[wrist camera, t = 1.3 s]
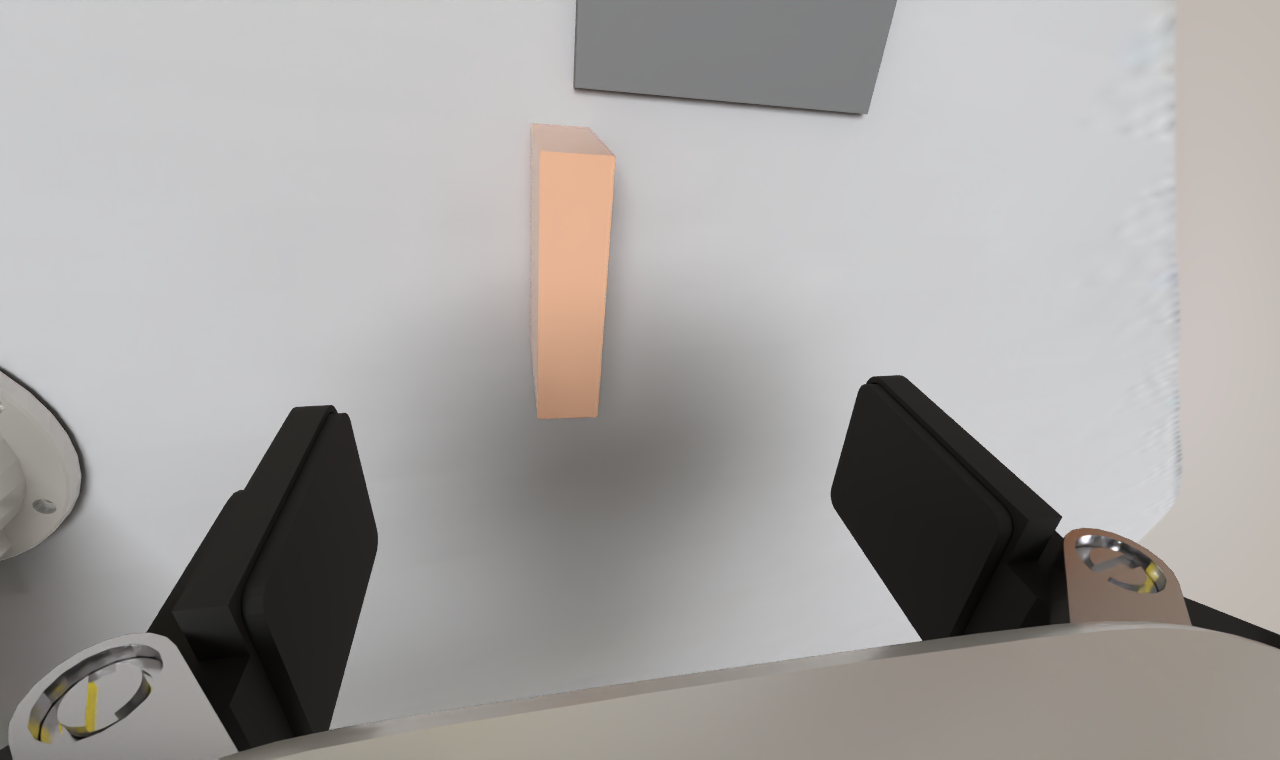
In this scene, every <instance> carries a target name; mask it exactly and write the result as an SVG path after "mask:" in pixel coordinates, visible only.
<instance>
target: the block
mask: <svg viewBox="0 0 1280 760" xmlns="http://www.w3.org/2000/svg"><path fill="white" fill-rule="evenodd" d="M615 157H616V156H615V155H614V154H613V153H612V152H611V151H610V150H609V149H608V148H607V146H606V145H605V144H604V143H603V142H602V141H601V140H600V139H599V138H598V137H597V136H596V135H595V134H594V133H593V132H592V131H591V130H590V128H587V127H574V126H561V125H548V124H535V123H531V277H530V343H531V354H532V365H533V376H534V387H535V398H536V409H537V419H552V418H583V417H598V404H599V390H600V375H601V361H602V346H603V332H604V317H605V302H606V288H607V273H608V259H609V244H610V230H611V215H612V200H613V186H614V171H615Z"/></svg>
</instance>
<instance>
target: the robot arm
mask: <svg viewBox="0 0 1280 760" xmlns="http://www.w3.org/2000/svg"><path fill="white" fill-rule="evenodd" d="M80 484H81V471H80V466H79V460H78V455H77V453H76V451H75V449H74V447H73V445H72V443H71V440H70V438H69V436H68V434H67V433H66V432H65V430H64V429H63V428H62V426H61V425H60V424H59V422H58V421H57V420H56V418H55V417H54V416H53V414H52V413H51V412H50V411H49V410H48V409H47V408H46V407H45V406H44V405H43V404H42V403H40V402H39V401H38V400H37V399H36V398H35V397H34V396H33V395H32V394H31V393H30V392H29V391H27V390H26V389H25V388H23V387H22V386H20V385H19V384H18V383H16V382H15V381H13V380H12V379H11V378H9V377H8V376H6V375H5V374H3V373H2V372H1V371H0V561H2V560H5V559H8V558H12V557H15V556H18V555H20V554H22V553H24V552H25V551H27V550H29V549H31V548H33V547H35V546H37V545H39V544H40V543H41V542H42V541H43V540H45V539H46V538H47V537H48V536H49V535H51V534H52V533H53V532H54V531H55V530H56V529H57V528H58V526H59V525H60V524H61V523H62V522H63V521H64V520H65V518H66V517H67V516H68V515H69V514H70V513H71V511H72V509H73V507H74V505H75V503H76V501H77V498H78V496H79V492H80ZM831 501H832V504H833V507H834V509H835V510H836V512H837V513H838V515H839V516H840V518H841V519H842V521H843V522H844V524H845V525H846V527H847V528H848V530H849V531H850V533H851V534H852V536H853V537H854V539H855V540H856V542H857V543H858V545H859V546H860V548H861V549H862V551H863V552H864V554H865V555H866V557H867V558H868V560H869V561H870V563H871V564H872V566H873V567H874V569H875V570H876V572H877V573H878V575H879V576H880V578H881V579H882V581H883V582H884V584H885V585H886V587H887V588H888V590H889V591H890V593H891V594H892V596H893V597H894V599H895V600H896V602H897V603H898V605H899V606H900V608H901V609H902V611H903V612H904V614H905V615H906V617H907V618H908V620H909V621H910V623H911V624H912V626H913V627H914V629H915V630H916V632H917V633H918V635H919V636H920V638H921V639H922V641H919V642H912V643H905V644H897V645H890V646H883V647H876V648H868V649H861V650H854V651H846V652H839V653H832V654H825V655H818V656H811V657H804V658H797V659H790V660H783V661H776V662H769V663H762V664H755V665H748V666H741V667H734V668H727V669H720V670H713V671H706V672H699V673H692V674H685V675H678V676H671V677H664V678H657V679H651V680H644V681H637V682H630V683H623V684H617V685H610V686H603V687H597V688H590V689H583V690H576V691H570V692H563V693H556V694H550V695H543V696H536V697H529V698H523V699H516V700H509V701H503V702H496V703H489V704H483V705H476V706H469V707H463V708H457V709H451V710H445V711H439V712H433V713H427V714H421V715H415V716H409V717H403V718H397V719H390V720H384V721H378V722H372V723H366V724H360V725H354V726H348V727H343V728H338V729H333V730H329V727H330V723H331V720H332V716H333V712H334V709H335V705H336V701H337V697H338V694H339V690H340V686H341V682H342V679H343V675H344V671H345V668H346V664H347V660H348V656H349V653H350V649H351V645H352V642H353V638H354V634H355V630H356V627H357V623H358V619H359V616H360V612H361V608H362V604H363V601H364V597H365V593H366V590H367V586H368V582H369V578H370V575H371V571H372V567H373V564H374V560H375V556H376V552H377V546H378V534H377V528H376V524H375V520H374V516H373V512H372V507H371V503H370V499H369V495H368V491H367V487H366V483H365V479H364V475H363V471H362V466H361V462H360V458H359V454H358V450H357V446H356V442H355V438H354V434H353V429H352V425H351V421H350V418H349V416H348V414H346V413H337V410H336V409H335V407H334V406H332V405H324V406H305V407H295V408H293V409H292V410H291V412H290V413H289V415H288V417H287V418H286V420H285V422H284V423H283V425H282V427H281V428H280V430H279V432H278V433H277V435H276V437H275V438H274V440H273V442H272V443H271V445H270V447H269V449H268V450H267V452H266V454H265V455H264V457H263V459H262V460H261V462H260V464H259V465H258V467H257V469H256V470H255V472H254V474H253V475H252V477H251V479H250V480H249V482H248V484H247V486H246V487H245V489H244V490H239V491H237V492H235V493H234V494H233V495H232V496H231V497H230V498H229V500H228V501H227V503H226V504H225V506H224V507H223V509H222V511H221V512H220V514H219V516H218V517H217V519H216V520H215V522H214V524H213V525H212V527H211V529H210V530H209V532H208V533H207V535H206V537H205V538H204V540H203V542H202V543H201V545H200V546H199V548H198V550H197V551H196V553H195V555H194V556H193V558H192V559H191V561H190V563H189V564H188V566H187V568H186V569H185V571H184V572H183V574H182V576H181V577H180V579H179V581H178V582H177V584H176V585H175V587H174V589H173V590H172V592H171V593H170V595H169V597H168V598H167V600H166V602H165V603H164V605H163V606H162V608H161V610H160V611H159V613H158V615H157V616H156V618H155V619H154V621H153V623H152V624H151V626H150V628H149V629H148V631H147V632H146V633H135V634H127V635H123V636H119V637H116V638H112V639H108V640H105V641H103V642H100V643H98V644H96V645H94V646H91V647H89V648H87V649H85V650H82V651H80V652H79V653H77V654H76V655H74V656H72V657H71V658H69V659H68V660H66V661H64V662H63V663H61V664H59V665H58V666H56V667H55V668H54V669H53V670H52V671H50V672H49V673H48V674H47V675H46V676H45V677H43V678H42V679H41V680H40V681H39V682H37V683H36V684H35V685H34V686H33V688H32V689H31V690H30V691H29V692H28V694H27V695H26V696H25V697H24V698H23V700H22V701H21V702H20V703H19V704H18V706H17V708H16V710H15V713H14V715H13V717H12V719H11V721H10V723H9V730H8V743H9V745H8V746H6V747H5V748H3V749H1V750H0V760H1280V635H1278V634H1276V633H1274V632H1271V631H1269V630H1266V629H1263V628H1261V627H1258V626H1256V625H1253V624H1251V623H1248V622H1246V621H1243V620H1241V619H1238V618H1235V617H1233V616H1230V615H1228V614H1225V613H1223V612H1220V611H1218V610H1215V609H1213V608H1210V607H1208V606H1205V605H1203V604H1200V603H1198V602H1195V601H1192V600H1190V599H1187V598H1185V597H1183V594H1182V591H1181V588H1180V584H1179V582H1178V580H1177V578H1176V576H1175V575H1174V573H1173V571H1172V570H1171V569H1170V568H1169V567H1168V566H1167V565H1166V564H1165V563H1164V562H1163V561H1162V560H1161V559H1160V558H1158V557H1157V556H1156V555H1154V554H1153V553H1152V552H1150V551H1149V550H1148V549H1146V548H1144V547H1142V546H1141V545H1139V544H1137V543H1135V542H1134V541H1132V540H1130V539H1127V538H1125V537H1122V536H1120V535H1117V534H1115V533H1112V532H1108V531H1104V530H1100V529H1092V528H1080V529H1075V530H1072V531H1070V532H1069V533H1068V534H1066V535H1065V537H1064V538H1063V537H1061V536H1060V535H1059V534H1058V533H1057V532H1056V531H1055V529H1056V527H1057V526H1058V524H1059V522H1060V520H1061V518H1062V516H1061V515H1060V514H1059V513H1057V512H1056V511H1055V510H1054V509H1053V508H1052V507H1051V506H1050V505H1048V504H1047V503H1046V502H1045V501H1044V500H1043V499H1042V498H1041V497H1039V496H1038V495H1037V494H1036V493H1035V492H1034V491H1033V490H1032V489H1030V488H1029V487H1028V486H1027V485H1026V484H1025V483H1024V482H1023V481H1021V480H1020V479H1019V478H1018V477H1017V476H1016V475H1015V474H1014V473H1012V472H1011V471H1010V470H1009V469H1008V468H1007V467H1006V466H1005V465H1003V464H1002V463H1001V462H1000V461H999V460H998V459H997V458H996V457H994V456H993V455H992V454H991V453H990V452H989V451H988V450H987V449H985V448H984V447H983V446H982V445H981V444H980V443H979V442H978V441H976V440H975V439H974V438H973V437H972V436H971V435H970V434H969V433H967V432H966V431H965V430H964V429H963V428H962V427H961V426H960V425H958V424H957V423H956V422H955V421H954V420H953V419H952V418H951V417H949V416H948V415H947V414H946V413H945V412H944V411H943V410H942V409H940V408H939V407H938V406H937V405H936V404H935V403H934V402H933V401H931V400H930V399H929V398H928V397H927V396H926V395H925V394H924V393H922V392H921V391H920V390H919V389H918V388H917V387H916V386H915V385H913V384H912V383H911V382H910V381H909V380H908V379H907V378H905V377H904V376H900V375H895V376H876V377H872V378H870V379H869V380H868V381H867V383H866V384H864V385H862V386H861V387H860V389H859V391H858V394H857V398H856V402H855V405H854V409H853V412H852V416H851V420H850V423H849V427H848V430H847V434H846V438H845V441H844V445H843V448H842V452H841V456H840V459H839V463H838V466H837V470H836V474H835V477H834V481H833V484H832V488H831Z"/></svg>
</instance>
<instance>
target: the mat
mask: <svg viewBox="0 0 1280 760" xmlns="http://www.w3.org/2000/svg"><path fill="white" fill-rule="evenodd" d="M896 2H897V0H576V27H575V57H574V87H575V88H585V89H596V90H607V91H618V92H629V93H640V94H651V95H662V96H673V97H684V98H695V99H706V100H717V101H728V102H739V103H750V104H761V105H772V106H783V107H794V108H805V109H816V110H827V111H838V112H849V113H860V114H868V110H869V106H870V102H871V98H872V95H873V91H874V87H875V83H876V79H877V75H878V72H879V68H880V64H881V60H882V56H883V52H884V48H885V45H886V41H887V37H888V33H889V29H890V25H891V21H892V18H893V14H894V10H895V6H896Z"/></svg>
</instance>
